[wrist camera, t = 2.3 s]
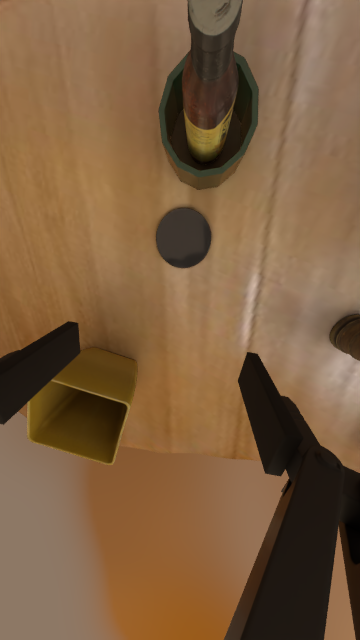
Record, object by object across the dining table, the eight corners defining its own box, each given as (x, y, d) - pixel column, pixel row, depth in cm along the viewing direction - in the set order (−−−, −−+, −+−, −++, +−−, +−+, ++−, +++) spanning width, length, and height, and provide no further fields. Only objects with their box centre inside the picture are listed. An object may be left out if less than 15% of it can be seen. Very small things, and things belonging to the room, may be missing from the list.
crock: (217, 64, 28) (223, 10, 22) (260, 150, 32) (276, 126, 25) (151, 134, 32) (140, 107, 26) (195, 205, 35) (195, 196, 29)
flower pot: (81, 331, 48) (26, 372, 33) (152, 353, 49) (130, 404, 33) (74, 386, 55) (26, 441, 40) (136, 405, 56) (112, 466, 40)
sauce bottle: (224, 164, 33) (257, 61, 14) (188, 168, 33) (177, 75, 15) (224, 114, 30) (266, -85, 12) (186, 120, 31) (169, -61, 13)
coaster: (189, 194, 35) (189, 194, 34) (221, 245, 38) (221, 245, 37) (145, 233, 38) (145, 233, 38) (178, 278, 41) (177, 278, 40)
